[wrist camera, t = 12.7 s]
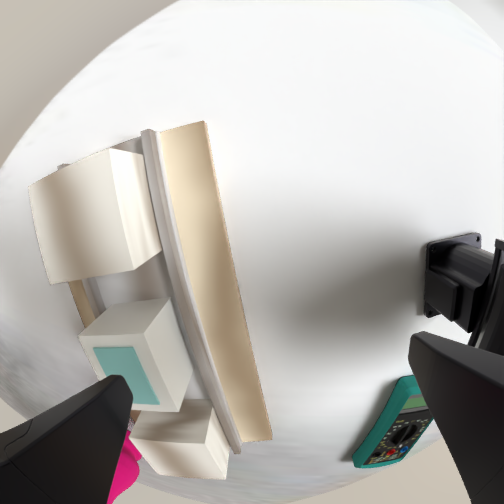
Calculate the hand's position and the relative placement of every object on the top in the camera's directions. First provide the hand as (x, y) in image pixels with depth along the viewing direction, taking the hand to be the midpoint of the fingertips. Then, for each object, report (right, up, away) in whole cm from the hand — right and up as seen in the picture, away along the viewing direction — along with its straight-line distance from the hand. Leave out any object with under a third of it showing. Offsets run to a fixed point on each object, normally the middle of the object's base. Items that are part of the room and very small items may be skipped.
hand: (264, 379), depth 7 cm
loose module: (-8, -3, +12) cm, 14 cm away
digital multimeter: (+16, -15, +16) cm, 28 cm away
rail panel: (-8, -2, +13) cm, 15 cm away
